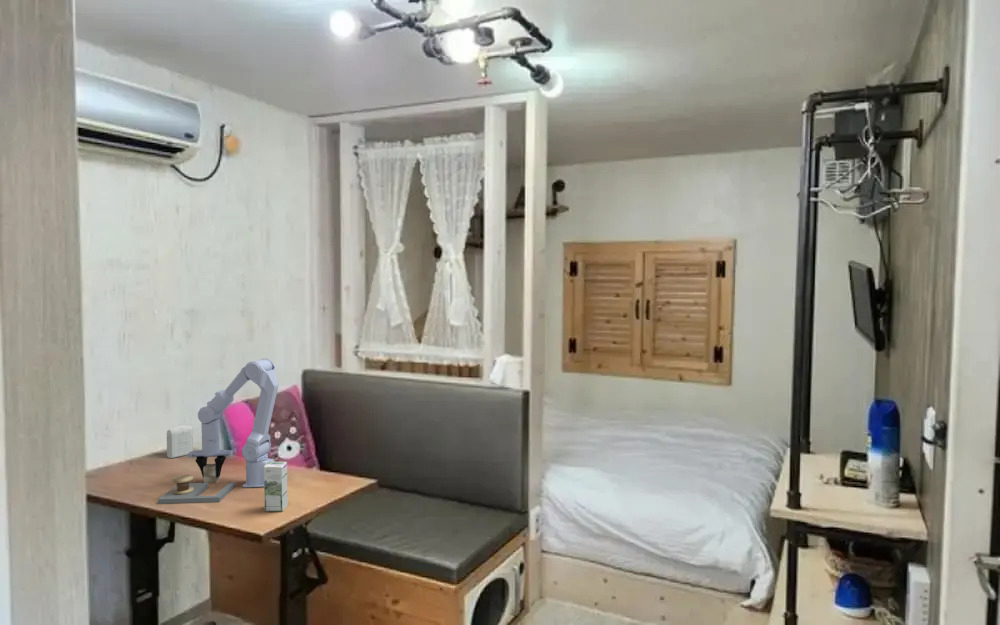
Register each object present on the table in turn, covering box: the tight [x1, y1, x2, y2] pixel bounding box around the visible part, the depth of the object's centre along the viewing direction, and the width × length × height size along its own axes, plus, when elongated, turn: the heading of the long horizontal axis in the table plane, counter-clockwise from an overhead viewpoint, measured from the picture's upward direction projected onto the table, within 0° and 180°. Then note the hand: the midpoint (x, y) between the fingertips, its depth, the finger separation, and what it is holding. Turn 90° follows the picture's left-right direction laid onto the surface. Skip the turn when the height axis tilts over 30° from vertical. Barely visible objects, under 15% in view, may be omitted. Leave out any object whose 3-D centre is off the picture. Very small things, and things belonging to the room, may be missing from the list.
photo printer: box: [166, 424, 194, 459], centre depth 266 cm, size 10×4×12 cm, turn 147°
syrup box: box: [263, 461, 289, 513], centre depth 204 cm, size 6×6×14 cm
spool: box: [171, 474, 194, 495], centre depth 216 cm, size 6×6×5 cm
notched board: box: [157, 481, 236, 505], centre depth 217 cm, size 19×16×2 cm
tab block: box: [203, 463, 220, 485], centre depth 231 cm, size 4×4×6 cm
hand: (211, 476), depth 231 cm, fingers closed on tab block, 4 cm apart
